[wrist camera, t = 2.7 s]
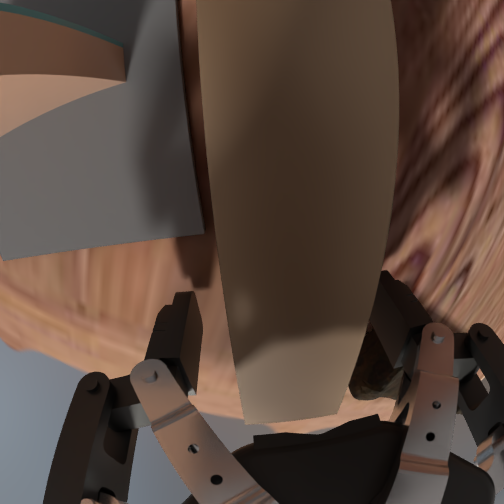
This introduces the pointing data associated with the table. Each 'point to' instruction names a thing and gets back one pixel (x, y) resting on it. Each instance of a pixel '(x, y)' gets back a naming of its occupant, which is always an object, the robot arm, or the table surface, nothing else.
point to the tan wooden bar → (299, 188)
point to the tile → (50, 64)
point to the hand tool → (375, 372)
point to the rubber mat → (106, 145)
